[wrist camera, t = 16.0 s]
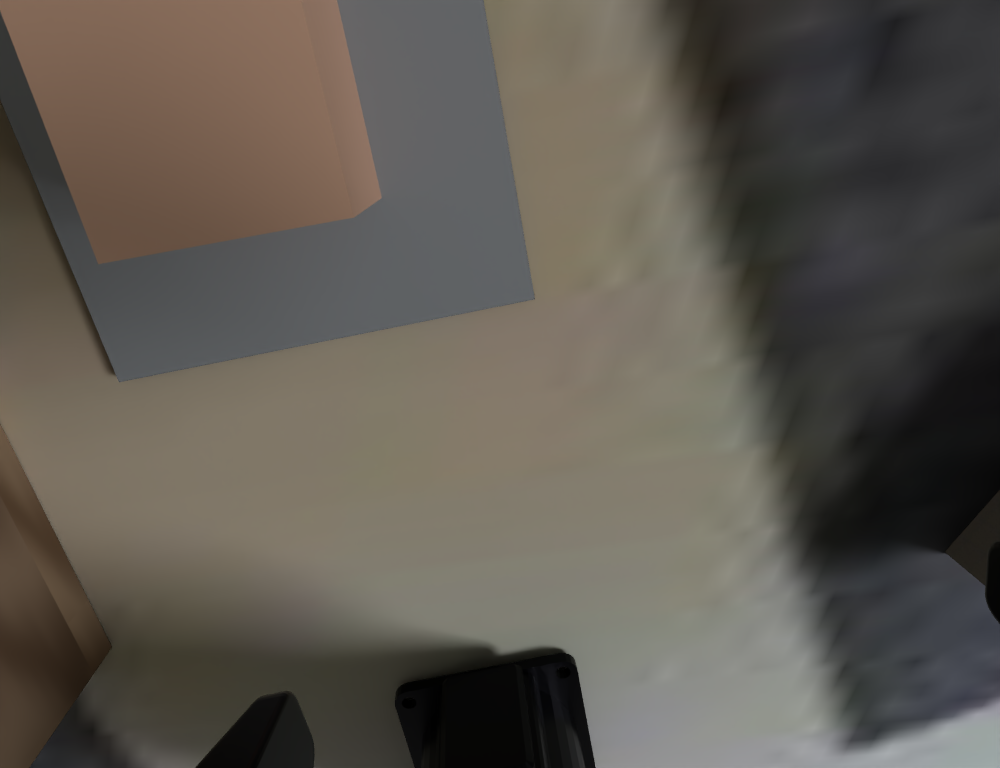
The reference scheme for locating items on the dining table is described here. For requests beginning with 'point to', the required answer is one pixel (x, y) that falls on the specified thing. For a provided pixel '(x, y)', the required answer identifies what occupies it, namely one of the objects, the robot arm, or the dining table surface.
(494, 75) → the mat
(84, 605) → the brown open box
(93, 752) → the dining table surface
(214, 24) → the block
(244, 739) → the robot arm
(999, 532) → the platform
